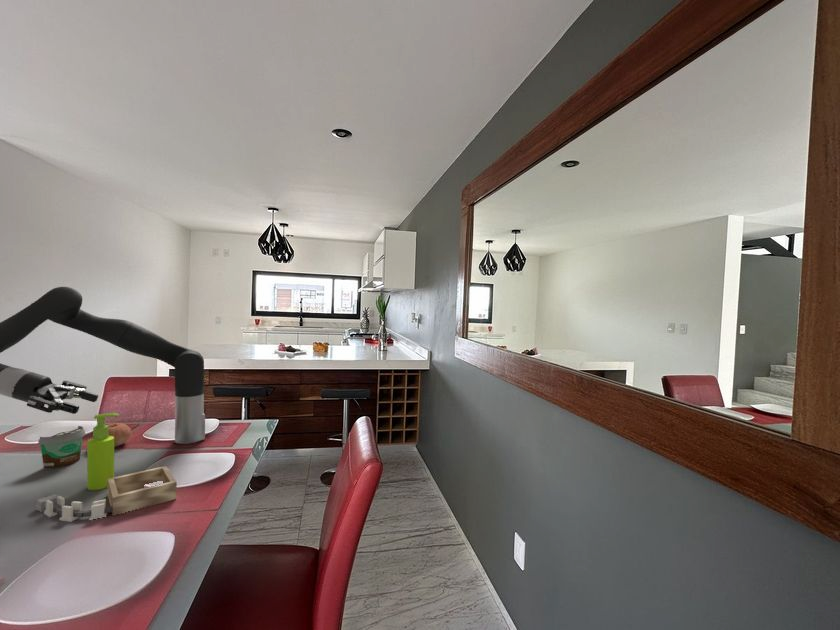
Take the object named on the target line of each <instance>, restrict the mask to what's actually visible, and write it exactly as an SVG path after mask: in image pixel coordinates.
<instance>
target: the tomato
mask: <svg viewBox="0 0 840 630" xmlns="http://www.w3.org/2000/svg"><path fill="white" fill-rule="evenodd" d="M106 425H108V426H109V436H113V437H114V448H116V447H119V446H122V445H124V444H125V443H126V442H127V441H128V440H129V439H130V438H131V436H132V430H131V428H130V427H129V426H128V424H125V423H122V422H119V423H118V422H115V423H108V424H106Z"/></svg>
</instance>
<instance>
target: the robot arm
mask: <svg viewBox="0 0 840 630" xmlns="http://www.w3.org/2000/svg"><path fill="white" fill-rule="evenodd" d="M82 305H83V296H82V294H81V292H80V291H78V290H77V289H75V288H73V287H69V286H58V287H54V288H52V289H50V290H49V291H47V292H45V293H44V294H43V295H42V296H41V297H39V298H38V299H36V300H34V301H33V302H31V304H29V305H28V306H26V307H25V308H23V309H21V310H20V311H18V312H16V313H15V314H12V316H9V317H8V318H6V319H5V320H1V321H0V354H1V353H3V352H5V351H7V350H8V349H10V348H11V347H13V346H15V345H17V344H18V343H20V342H21V341H22V340H24V338H26V337H27V336H28V335H30V334H31V333H33V331H35V330H36V329H37V328H38V327H39V326H41V325H42V324H43V323H45V322H46V321H48V320H49V321H51V322H53V323H55V324H58V325H61V326H65V327H68V328H69V329H73V330H77V331H80V332H83V333H85V334H88V335H90V336H92V337H95V338H97V339H99V340H102V341H105V342H107V343H110V344H111V345H113V346H115V347H118V348H120V349H123V350H125V351H127V352H130V353H133V354H136V355H139V356H143V357H149V358H152V359H155V360H159V361H161V362H164V363H165V364H168V365H170V366H171V367H173V368H174V397H175V398H174V443H176V444H179V445H189V444H195V443H197V442H201V441H203V440H205V439H206V414H205V412H204V408H205V407H204V406H205V405H204V403H205V401H204V400H205V396H204V395H205V394H204V393H205V390H204V389H205V360H204V357H203V355H202V354H201V353H200V352H198V351H196V350H193V349H191V348H187V347H184V346H181V345H178V344H175V343H174V342H172V341H169V340H167V339H165V338H163V337H162V336H160V335H159V334H157V333H154V332H153V331H151V330H149V329H147V328H145V327H143V326H140V325H139V324H137V323H134V322H132V321H129V320H125V319H119V318H105V317H101V316H97V315H94V314H92V313H90V312H87V311H84V310H83V309H81V307H82ZM87 388H88V386H86V385H84V384H80V383H76V382H74V381H69V380H62V383H60V384H57V383H53V381H52V379H51V377H50V376H47V375H43V374H40V373H37V372H34V371H30V370H26V369H24V368H20V367H19V368H17V367H13V366H10V365H7V364H3V363H0V395H1V396H5V397H7V398H11V399H15V400H17V401H18V400H19V401H22V402H25V403H26V406H27V407H29V408H33V409H35V410H39V411H42V412H45V413H49V414H51V413H52V412H54V411H56V412H59V411H62V412H65V413H69V414H73V415H75V414H77V413H78V412H79V411H80V406H79V405H77V404H75V403H70V402H67V401H64V400H72V399H73V398H74V399H77V398H78V399H82V400H86V401H89V402H92V403H95V402H97V401H98V398H99V395H98V394H96V393H93V392H90V391H87ZM63 401H64V402H63ZM45 405H47V406H48V407H46V406H45Z"/></svg>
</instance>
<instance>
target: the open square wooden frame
mask: <svg viewBox="0 0 840 630" xmlns="http://www.w3.org/2000/svg"><path fill="white" fill-rule="evenodd" d="M157 481H163V484H159V485H155V486H151V487H147V488H144V485H145V484H149V483H153V482H157ZM141 488H143V489H141ZM138 489H139V490H138ZM177 489H178V483H177V480H176V479H175V477H174V476H173V474H172V472H171V471H170V469H169V468H168V466H167V465H163V466H160V467H153V468H151V469H146V470H145V469H144V470H141V471H136V472H132V473H127V474H124V475H119V476H114V477H113V478H109V479H108V487H107V499H108V502H109V506H112V512H111V514H112V516H113V515H115V516H117V515H116V514H119V515H121V513H122V514H125V512H126V513H129V512H128V511H130V512H133V511H136V510H135V509H137V510H140V508H141V509H144V508H148V507H150V506H154V505H155V506H156V505H159V504H163V503H166V502H170V501H173V500H177V494H178V491H177ZM147 506H148V507H147ZM143 507H144V508H143ZM132 510H133V511H132Z"/></svg>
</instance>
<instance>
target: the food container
mask: <svg viewBox="0 0 840 630" xmlns="http://www.w3.org/2000/svg"><path fill="white" fill-rule="evenodd" d="M85 435H86V430H85V428H84V427H83V426H81V425H78V426H77V428H75V429H72V430H68V431H62V432H59V433H56V434H54V435H52V436H39V439H38V442H37V445H40V450H41V458H42V466H43V469H56V468H57V469H58V468H62V467H67V466H71V465H74V464H76V463H78V462H79V461H80V460H81V454H82V445H83V443H82V442H83V437H84V436H85Z"/></svg>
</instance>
